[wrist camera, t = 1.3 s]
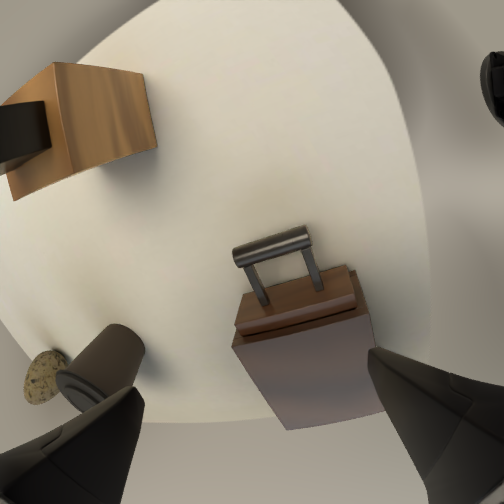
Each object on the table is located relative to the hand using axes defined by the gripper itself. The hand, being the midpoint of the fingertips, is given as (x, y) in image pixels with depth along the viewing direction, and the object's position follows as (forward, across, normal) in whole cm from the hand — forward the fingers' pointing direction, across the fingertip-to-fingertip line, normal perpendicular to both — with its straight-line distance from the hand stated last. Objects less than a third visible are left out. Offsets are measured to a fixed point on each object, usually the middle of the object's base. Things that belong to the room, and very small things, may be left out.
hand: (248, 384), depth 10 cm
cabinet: (+14, +5, -10) cm, 17 cm away
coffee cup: (+17, -16, -9) cm, 25 cm away
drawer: (+12, +4, -6) cm, 14 cm away
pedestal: (+14, -8, +13) cm, 20 cm away
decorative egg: (+20, -32, -13) cm, 40 cm away
